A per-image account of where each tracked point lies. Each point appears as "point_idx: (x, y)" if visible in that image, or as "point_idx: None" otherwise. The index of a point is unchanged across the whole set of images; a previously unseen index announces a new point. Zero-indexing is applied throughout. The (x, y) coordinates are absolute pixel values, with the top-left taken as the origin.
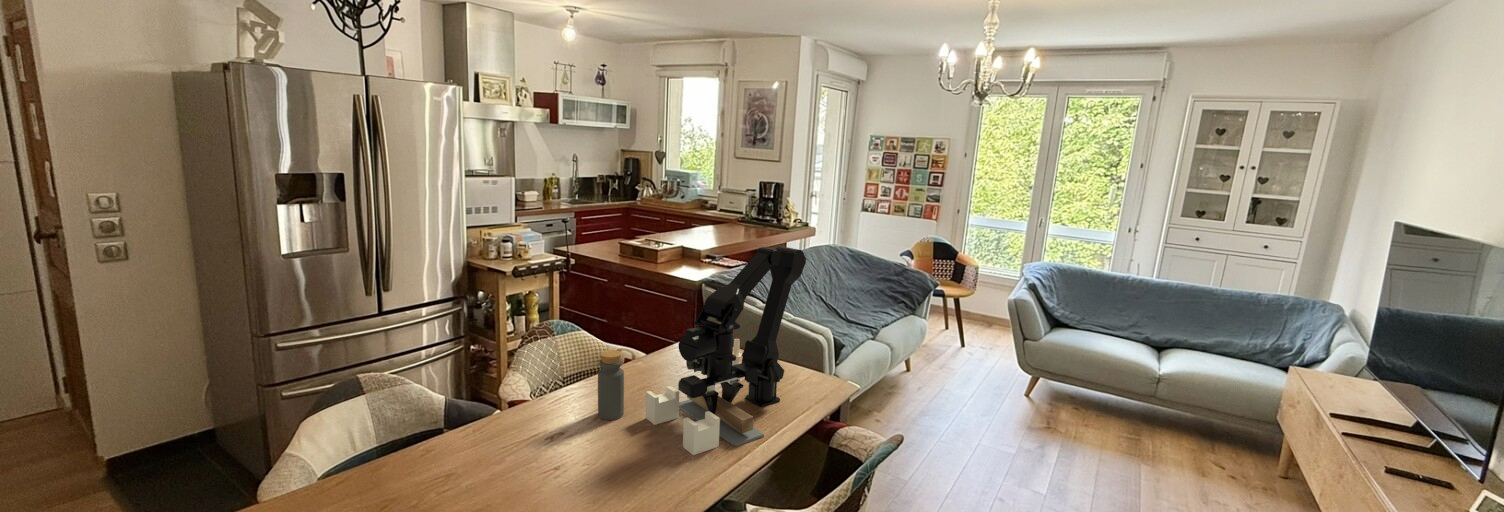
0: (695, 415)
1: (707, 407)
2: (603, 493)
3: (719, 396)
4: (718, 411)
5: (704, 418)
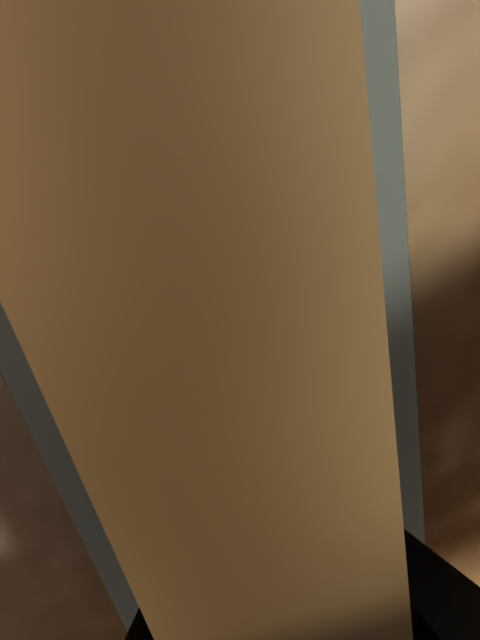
0: (35, 391)
1: (130, 626)
2: None
3: (407, 617)
4: None
5: None
